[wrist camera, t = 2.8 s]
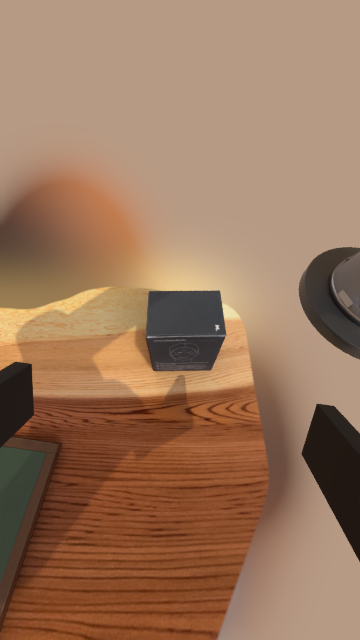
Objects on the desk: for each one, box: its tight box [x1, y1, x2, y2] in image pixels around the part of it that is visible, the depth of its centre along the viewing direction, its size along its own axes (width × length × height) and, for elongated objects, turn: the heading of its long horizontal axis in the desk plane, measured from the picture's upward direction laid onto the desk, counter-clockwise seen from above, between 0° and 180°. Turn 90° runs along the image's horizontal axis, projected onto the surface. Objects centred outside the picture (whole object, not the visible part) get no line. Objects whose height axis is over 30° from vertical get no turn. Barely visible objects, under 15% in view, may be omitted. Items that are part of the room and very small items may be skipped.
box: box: [146, 291, 226, 371], centre depth 29 cm, size 8×6×11 cm
